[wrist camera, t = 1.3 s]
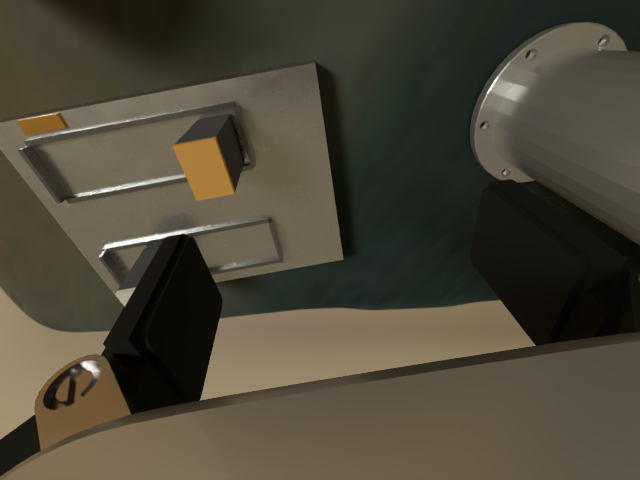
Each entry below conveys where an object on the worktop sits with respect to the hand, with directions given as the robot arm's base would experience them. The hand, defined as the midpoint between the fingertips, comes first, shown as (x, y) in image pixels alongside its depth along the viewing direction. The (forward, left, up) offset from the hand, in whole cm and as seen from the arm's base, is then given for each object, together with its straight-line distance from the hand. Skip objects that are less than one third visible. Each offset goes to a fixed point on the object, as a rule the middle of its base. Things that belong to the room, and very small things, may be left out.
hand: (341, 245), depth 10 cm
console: (+11, +5, -18) cm, 22 cm away
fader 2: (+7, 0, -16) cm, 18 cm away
